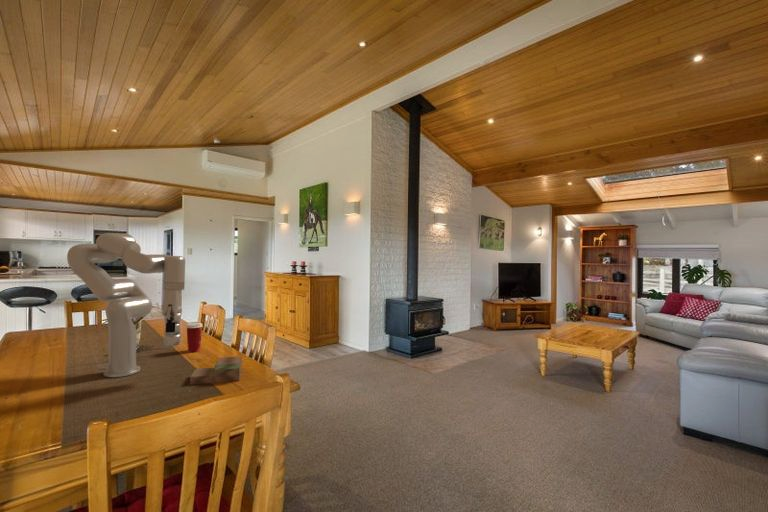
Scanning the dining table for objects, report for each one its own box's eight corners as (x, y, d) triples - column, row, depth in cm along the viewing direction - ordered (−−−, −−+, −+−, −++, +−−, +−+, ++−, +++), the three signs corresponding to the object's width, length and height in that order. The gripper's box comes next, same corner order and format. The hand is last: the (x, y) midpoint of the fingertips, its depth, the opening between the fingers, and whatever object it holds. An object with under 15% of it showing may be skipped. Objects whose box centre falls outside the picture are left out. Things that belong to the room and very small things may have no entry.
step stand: (189, 384, 141) (190, 367, 141) (195, 375, 151) (195, 359, 151) (239, 380, 146) (239, 363, 146) (241, 372, 156) (241, 356, 156)
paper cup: (205, 350, 187) (205, 323, 187) (190, 354, 180) (191, 326, 180) (197, 347, 191) (197, 321, 191) (182, 351, 185) (182, 324, 184)
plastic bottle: (173, 348, 144) (174, 298, 143) (158, 346, 145) (160, 297, 144) (185, 344, 150) (186, 296, 149) (171, 342, 151) (172, 295, 151)
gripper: (169, 283, 154) (168, 325, 154) (156, 288, 137) (155, 335, 138) (188, 284, 156) (187, 325, 156) (178, 289, 140) (177, 335, 140)
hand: (172, 329), depth 147 cm, fingers closed on plastic bottle, 5 cm apart
